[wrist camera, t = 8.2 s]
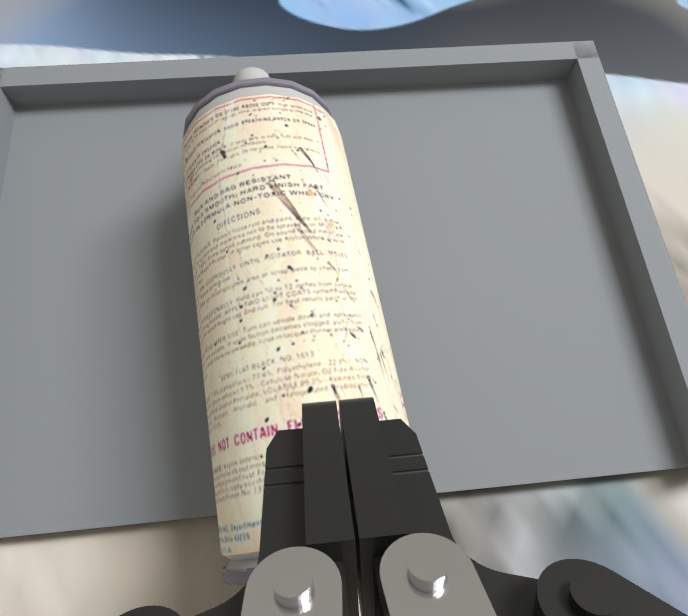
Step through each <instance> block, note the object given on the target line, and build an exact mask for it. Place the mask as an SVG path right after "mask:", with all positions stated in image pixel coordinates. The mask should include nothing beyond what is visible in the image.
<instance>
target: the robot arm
mask: <svg viewBox="0 0 688 616" xmlns="http://www.w3.org/2000/svg"><path fill="white" fill-rule="evenodd" d="M339 418H340V426H339ZM339 418H338V411H337V404H336V400H335V401H324V402H313V403H302V428H299V429H288V430H278V431H277V433H276V434H275V436H274V437H273V439H272V441H271V442H270V444H269V445H268V447H267V448H266V462H265V477H264V491H263V505H262V520H261V534H260V548H259V558H258V563H257V566H256V568H255V569H254V570H253V572H252V573H251V575H250V577H249V579H248V582H247V584H246V585H245V586H244V587H243V588H242V589H241V590H240V591H239V592H238V593H237V594H236V595H234V596H233V597H232V598H230V599H229V600H227V601H226V602H224V603H223V604H221V605H219V606H217V607H215V608H212V609H210V610H208V611H205V612H203V613H201V614H198V615H196V616H359V606H358V595H359V603H360V611H361V616H687V615H686V614H684V613H682V612H681V611H679V610H677V609H676V608H674V607H672V606H671V605H669V604H667V603H666V602H664V601H662V600H661V599H659V598H657V597H656V596H654V595H652V594H650V593H649V592H647V591H645V590H644V589H642V588H640V587H639V586H637V585H635V584H634V583H632V582H630V581H629V580H627V579H625V578H624V577H622V576H620V575H619V574H617V573H615V572H614V571H612V570H610V569H608V568H606V567H604V566H602V565H599V564H597V563H594V562H590V561H587V560H580V559H565V560H560V561H557V562H554V563H552V564H551V565H549V566H548V567H547V568H546V569H545V570H544V571H543V572H542V574H541V575H540V577H539V579H534V578H528V577H523V576H517V575H512V574H507V573H502V572H498V571H494V570H492V569H489V568H486V567H484V566H482V565H480V564H479V563H477V562H475V561H474V560H472V559H471V558H470V557H469V556H468V555H467V554H466V553H465V551H464V550H463V549H462V548H461V547H460V546H458V545H457V544H456V542H455V541H454V539H453V537H452V535H451V532H450V530H449V527H448V524H447V521H446V518H445V515H444V512H443V509H442V507H441V504H440V501H439V498H438V495H437V492H436V489H435V486H434V484H433V481H432V478H431V475H430V472H428V466H427V463H426V461H425V458H424V456H423V452H422V449H421V446H420V443H419V440H418V438H417V435H416V433H415V432H414V431H413V430H412V429H411V428H410V427H409V426H408V425H407V424H406V423H405V422H404V421H403V420H402V419H391V420H381V421H379V417H378V413H377V409H376V406H375V402H374V398H373V397H365V398H355V399H344V400H339ZM120 616H180V615H179V614H178V613H177V612H175V611H173V610H171V609H169V608H166V607H163V606H144V607H140V608H136V609H133V610H131V611H128V612H126V613H124V614H122V615H120Z"/></svg>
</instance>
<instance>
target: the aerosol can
mask: <svg viewBox="0 0 688 616" xmlns="http://www.w3.org/2000/svg"><path fill="white" fill-rule="evenodd" d="M181 159H182V169H183V179H184V189H185V199H186V209H187V219H188V229H189V239H190V249H191V259H192V268H193V278H194V288H195V298H196V308H197V318H198V328H199V338H200V348H201V358H202V368H203V378H204V388H205V398H206V408H207V418H208V428H209V438H210V448H211V458H212V468H213V478H214V487H215V497H216V507H217V517H218V527H219V537H220V547H221V555H223V556H224V557H226V558H228V559H229V560H230V561H229V563H228V565H227V566H225V567H224V568H223V577H224V582H225V583H228V584H247V582H248V579H249V577H250V575H251V573H252V572H253V570H254V569H255V568H256V566H257V563H258V558H259V548H260V534H261V520H262V505H263V491H264V477H265V462H266V448H267V447H268V445H269V444H270V442H271V441H272V439H273V437H274V436H275V434H276V433H277V431H278V430H288V429H299V428H302V403H313V402H324V401H335V400H336V404H337V411H338V418H339V400H344V399H355V398H365V397H373V398H374V402H375V406H376V409H377V413H378V417H379V421H381V420H391V419H402V420H403V421H404V422H405V423H406V424H407V425H408V426H409V422H408V418H407V414H406V410H405V405H404V401H403V397H402V393H401V388H400V384H399V380H398V375H397V371H396V367H395V363H394V358H393V354H392V350H391V346H390V341H389V337H388V333H387V329H386V324H385V320H384V316H383V312H382V307H381V303H380V299H379V295H378V290H377V286H376V282H375V278H374V273H373V269H372V265H371V260H370V256H369V252H368V248H367V243H366V239H365V235H364V231H363V226H362V222H361V218H360V214H359V209H358V205H357V201H356V197H355V192H354V188H353V184H352V180H351V175H350V171H349V167H348V163H347V158H346V154H345V150H344V146H343V141H342V137H341V134H340V132H339V130H338V127H337V125H336V123H335V120H334V118H333V116H332V114H331V111H330V109H329V107H328V104H327V103H326V102H325V101H324V100H323V99H322V98H321V97H320V96H319V95H318V94H316V93H315V92H314V91H313V90H311V89H309V88H307V87H305V86H302V85H300V84H298V83H296V82H293V81H289V80H282V79H275V78H270V77H269V75H268V74H267V73H266V72H265V71H264V70H262V69H260V68H255V67H249V68H245V69H242V70H240V71H239V72H237V73H236V75H235V76H234V79H233V82H232V83H230V84H227V85H224V86H222V87H219V88H216V89H214V90H213V91H211V92H210V93H209V94H207V95H206V96H205V97H203V98H202V99H201V100H199V101H198V102H197V103H196V104H195V105H194V107H193V108H192V110H191V111H190V113H189V115H188V116H187V118H186V119H185V124H184V132H183V145H182V153H181ZM339 426H340V418H339Z"/></svg>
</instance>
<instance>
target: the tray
mask: <svg viewBox="0 0 688 616" xmlns="http://www.w3.org/2000/svg"><path fill="white" fill-rule="evenodd" d="M249 67H255V68H260V69H262V70H264V71H265V72H266V73H267V74H268V75H269V77H270V78H275V79H282V80H289V81H293V82H296V83H298V84H300V85H302V86H305V87H307V88H309V89H311V90H313V91H314V92H315V93H316V94H318V95H319V96H320V97H321V98H322V99H323V100H324V101H325V102H326V103H327V104H328V107H329V109H330V111H331V114H332V116H333V118H334V120H335V123H336V125H337V127H338V130H339V132H340V134H341V137H342V141H343V146H344V150H345V154H346V158H347V163H348V167H349V171H350V175H351V180H352V184H353V188H354V192H355V197H356V201H357V205H358V209H359V214H360V218H361V222H362V226H363V231H364V235H365V239H366V243H367V248H368V252H369V256H370V260H371V265H372V269H373V273H374V278H375V282H376V286H377V290H378V295H379V299H380V303H381V307H382V312H383V316H384V320H385V324H386V329H387V333H388V337H389V341H390V346H391V350H392V354H393V358H394V363H395V367H396V371H397V375H398V380H399V384H400V388H401V393H402V397H403V401H404V405H405V410H406V414H407V418H408V422H409V427H410V428H411V429H412V430H413V431H414V432H415V433H416V435H417V438H418V440H419V443H420V446H421V449H422V452H423V456H424V458H425V461H426V463H427V466H428V472H430V475H431V478H432V481H433V484H434V486H435V489H436V492H437V493H442V492H452V491H462V490H471V489H481V488H491V487H501V486H510V485H520V484H530V483H540V482H549V481H559V480H569V479H579V478H588V477H598V476H608V475H618V474H627V473H637V472H647V471H656V470H666V469H676V468H686V467H688V308H687V305H686V302H685V299H684V296H683V294H682V291H681V288H680V285H679V282H678V279H677V277H676V274H675V271H674V268H673V265H672V262H671V260H670V257H669V254H668V251H667V248H666V245H665V243H664V240H663V237H662V234H661V231H660V229H659V226H658V223H657V220H656V217H655V214H654V212H653V209H652V206H651V203H650V200H649V197H648V195H647V192H646V189H645V186H644V183H643V180H642V178H641V175H640V172H639V169H638V166H637V164H636V161H635V158H634V155H633V152H632V149H631V147H630V144H629V141H628V138H627V135H626V132H625V130H624V127H623V124H622V121H621V118H620V115H619V113H618V110H617V107H616V104H615V101H614V99H613V96H612V93H611V90H610V87H609V84H608V82H607V79H606V76H605V73H604V70H603V67H602V65H601V62H600V59H599V56H598V53H597V50H596V48H595V45H594V42H593V41H578V42H577V41H576V42H554V43H532V44H511V45H490V46H468V47H447V48H424V49H404V50H381V51H361V52H360V51H359V52H338V53H317V54H296V55H295V54H294V55H273V56H251V57H230V58H208V59H186V60H165V61H143V62H122V63H100V64H78V65H57V66H35V67H13V68H0V538H4V537H14V536H23V535H33V534H43V533H53V532H62V531H72V530H82V529H91V528H101V527H111V526H121V525H130V524H140V523H150V522H160V521H169V520H179V519H189V518H199V517H208V516H217V507H216V497H215V487H214V478H213V468H212V458H211V448H210V438H209V428H208V418H207V408H206V398H205V388H204V378H203V368H202V358H201V348H200V338H199V328H198V318H197V308H196V298H195V288H194V278H193V268H192V259H191V249H190V239H189V229H188V219H187V209H186V199H185V189H184V179H183V169H182V159H181V153H182V145H183V132H184V124H185V119H186V118H187V116H188V115H189V113H190V111H191V110H192V108H193V107H194V105H195V104H196V103H197V102H198V101H199V100H201V99H202V98H203V97H205V96H206V95H207V94H209V93H210V92H211V91H213V90H214V89H216V88H219V87H222V86H224V85H227V84H230V83H232V82H233V79H234V76H235V75H236V73H237V72H239V71H240V70H242V69H245V68H249Z"/></svg>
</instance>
